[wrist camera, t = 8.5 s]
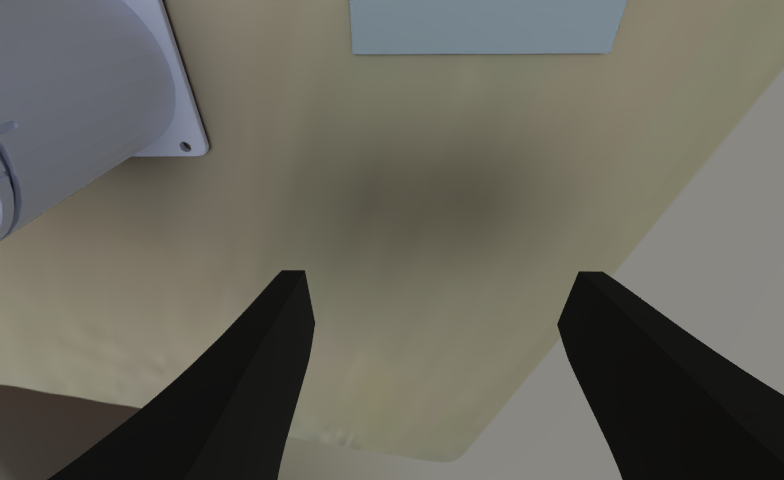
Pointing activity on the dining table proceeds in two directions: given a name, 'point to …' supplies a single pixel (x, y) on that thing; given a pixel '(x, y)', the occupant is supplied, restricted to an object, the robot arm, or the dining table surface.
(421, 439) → the dining table surface
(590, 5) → the mat
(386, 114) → the dining table surface
